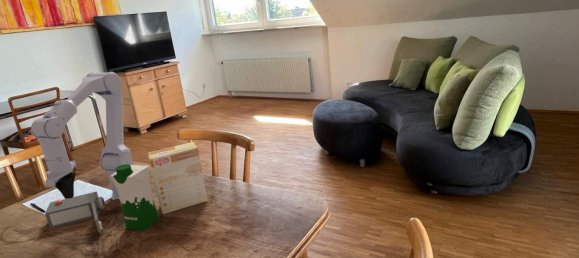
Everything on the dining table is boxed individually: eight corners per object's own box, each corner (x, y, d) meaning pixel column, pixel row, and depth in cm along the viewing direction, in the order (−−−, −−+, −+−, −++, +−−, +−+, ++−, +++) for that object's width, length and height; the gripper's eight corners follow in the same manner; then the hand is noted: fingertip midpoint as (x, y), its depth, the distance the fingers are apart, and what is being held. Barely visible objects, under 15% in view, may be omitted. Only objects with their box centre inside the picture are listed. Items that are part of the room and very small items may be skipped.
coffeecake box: (203, 193, 129) (193, 141, 123) (208, 201, 123) (198, 147, 117) (159, 205, 123) (146, 151, 117) (162, 215, 117) (149, 158, 111)
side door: (94, 216, 119) (90, 203, 118) (99, 215, 120) (95, 201, 118) (98, 234, 109) (94, 220, 107) (103, 232, 109) (99, 218, 108)
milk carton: (121, 230, 111) (104, 169, 104) (141, 214, 119) (127, 157, 112) (145, 233, 108) (129, 171, 101) (164, 216, 116) (150, 158, 109)
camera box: (106, 204, 128) (102, 187, 126) (105, 214, 120) (100, 197, 118) (55, 216, 122) (49, 200, 120) (50, 229, 115) (44, 211, 113)
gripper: (54, 149, 115) (67, 188, 119) (28, 168, 101) (43, 211, 106) (77, 146, 116) (89, 185, 120) (55, 165, 102) (69, 208, 106)
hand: (69, 197), depth 113 cm, fingers closed
